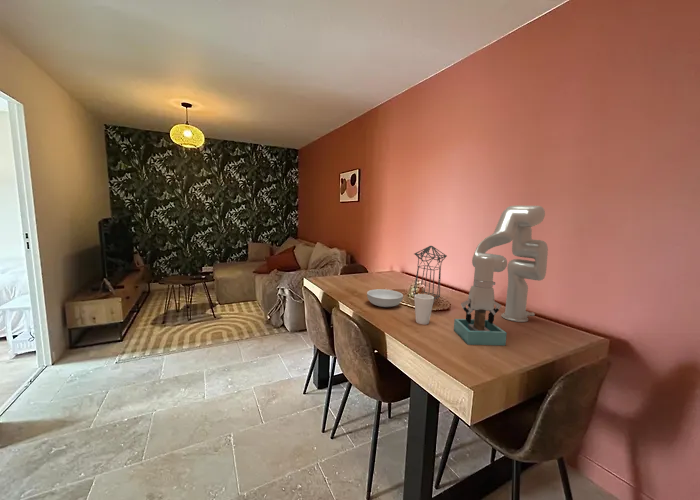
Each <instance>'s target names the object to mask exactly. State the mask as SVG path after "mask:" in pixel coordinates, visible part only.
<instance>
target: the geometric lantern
mask: <svg viewBox="0 0 700 500" xmlns="http://www.w3.org/2000/svg"><path fill="white" fill-rule="evenodd" d="M430 251H432V253H430ZM440 253H441V254H440ZM425 254H426V255H425ZM413 255H415V256H416V258H417V260H418V261H417V268H416V269H417V271H416V276H415V282H414V287H413V291H412V296H415V295H416V293H417V285H418V278H419V269H423V272H422V278H421V285H422V286H423V281H424V275H425V281H424V288H423V289H424V290H423V292H424V294H427V295H431V296H433V297H434V296H435V297H434V301H435V300H436V299H439V298H441V275H442V274H441V270H442V263H443V261H444V260H445V259H446V258H447V257H448V255H447V254H445V253H444V252H442V251H440V249H438V248H437V247H435V246H433V245H428V246H427V247H425V248H423V249H420V250H419V251H417V252H415V253H413ZM423 258H425V260H424V259H423ZM427 258H429V259H427ZM420 260H421V262H420ZM433 260H434V261H436V262H437V264H435V266H433V265H432V266H431V265H430V263H431V262H432V261H433ZM425 262H426V263H425ZM422 263H423V264H424V265H421V264H422ZM426 264H427V265H426ZM437 266H438V267H437ZM432 268H433V269H432ZM428 270H429V271H430V273H429V281H428V282H429V284H428V291H427V292H426V287H427V277H428ZM438 270H439V271H438ZM425 271H426V273H425ZM432 271H433V276H432ZM435 271H438V279H437V280H438V281H437V293H436V294H435V292H434V291H435V289H434V288H435V274H436V273H435ZM432 277H433V278H432ZM431 280H432V292H430V291H431ZM421 285H420V286H421Z"/></svg>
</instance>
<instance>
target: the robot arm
mask: <svg viewBox="0 0 700 500" xmlns="http://www.w3.org/2000/svg"><path fill="white" fill-rule="evenodd" d="M545 211H546V210H545V209H544V207H543V206H541V205H509V206H507V207H506V208H505V209H504V210H503V211H502V212H501V215H500V217H499V219H498V222H497V224H496V227H495V229H494V231H493V233H491V234H490V235H488V236H487V237H485V238H484V239H482V240H481V242H479V243H478V245H477V246H476V248H475V250H474V252H473V256H472V259H471V263H472V264H471V265H472V266H473V268H474V273H473V274H474V276H473V285H471V286H470V289H469V292H468V297H467V298H468V299H467V300H464V301H462V302H461V303H460V306H461V308H462V310H463V311H464V312H465V319H466V321H467V322H468V323H471V319H472V313H473V311H475V310H485V311H486V312H488V311H489V312H488V316H487V320H488V322H489V323H491V324H493V323H494V320H495V315H496V314H497V313H498V312H499V310H500V309H501V307H502V304H500V303H498V302H497V301H495V291H494V290H495V289H494V288H493V287H494V286H495V285H496V282H495V281H494V273H496V272H497V273H501V272H503V271H505V270H506V269H507V288H506V298H505V299H506V301H505V311H504V312H502V313H501V317H502V318H503V319H506V320H508V321H510V322H519V323H526V322H528V321H529V318H528V317H535V314H536V313H535V312H533V311H532V312H530V311H527V300H528V293H529V292H528V291H529V286H528V285H529V284H528V283H527V281H526V280H532V281H543V280H544V279H545V277H546V274H547V266H548V256H549V255H548V254H549V253H548V251H549V247H548V244H547V242H546V241H544V240H541V239H533V238H532V233H533V229H532V228H533V227H535V226H538V225H539V224H541V223H542V222H543V221H544V219H545V216H546V212H545ZM511 242H512V243H511ZM509 243H511V253H512V255H513V256H515V257H518V258H514V259H511V260H509V262H508V260H507V258H506V257H505V256H504V255H501V254H493V253H487V252H488V251H490V250H491V249H493V248H495V247H499V246H503V245H506V244H509ZM521 258H524V259H521ZM525 258H526V259H525ZM529 259H533V260H529ZM466 305H467V307H466Z"/></svg>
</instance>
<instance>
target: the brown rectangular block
mask: <svg viewBox="0 0 700 500" xmlns="http://www.w3.org/2000/svg"><path fill="white" fill-rule="evenodd" d="M486 312H487V311H485V310H474V327H475V328H477V329H478V330H484V326H485V320H486V314H487V313H486Z"/></svg>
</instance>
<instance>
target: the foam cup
mask: <svg viewBox="0 0 700 500" xmlns="http://www.w3.org/2000/svg"><path fill="white" fill-rule="evenodd" d="M413 296H414V295H413ZM434 298H435V297H434V295H433V296H432V294H429V295H428V294H427V293H424V294H423V293H421V294H419V293H417V294H415V296H414V299H413V301H414V314H415V322H416V323H417V324H419V325H429V323H430V320H431V314H432V311H433V310H432V309H433V306H434V305H433V304H434V303H435V300H434Z"/></svg>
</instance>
